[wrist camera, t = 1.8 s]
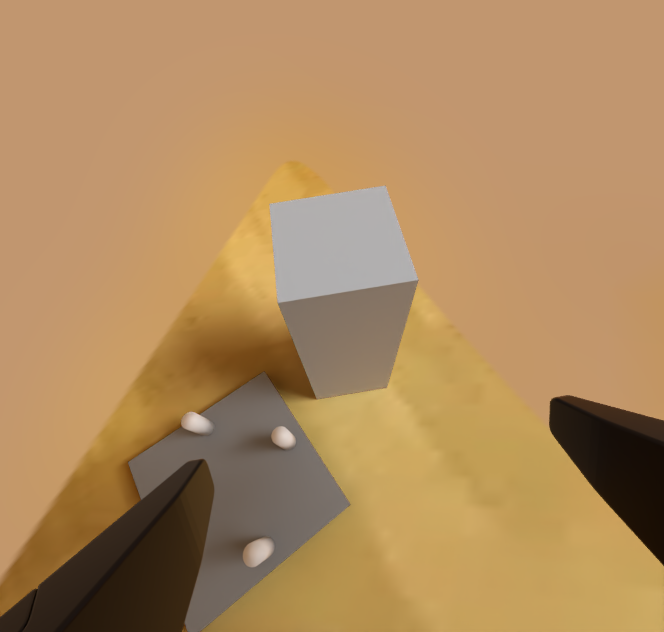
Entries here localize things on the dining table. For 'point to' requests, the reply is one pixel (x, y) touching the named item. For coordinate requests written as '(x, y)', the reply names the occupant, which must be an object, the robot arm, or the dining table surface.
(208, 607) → the plate
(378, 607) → the dining table surface
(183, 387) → the dining table surface
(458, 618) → the dining table surface
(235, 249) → the dining table surface
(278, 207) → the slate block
